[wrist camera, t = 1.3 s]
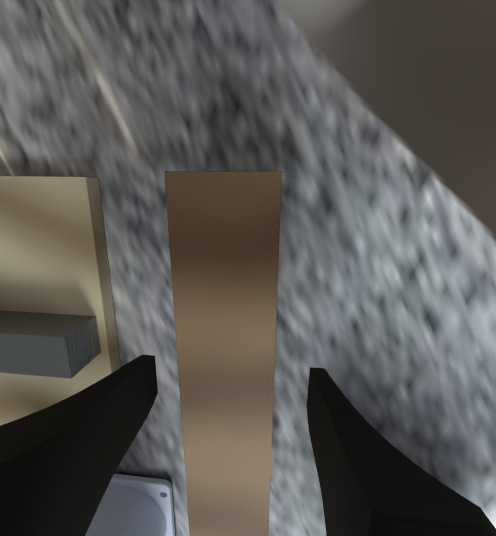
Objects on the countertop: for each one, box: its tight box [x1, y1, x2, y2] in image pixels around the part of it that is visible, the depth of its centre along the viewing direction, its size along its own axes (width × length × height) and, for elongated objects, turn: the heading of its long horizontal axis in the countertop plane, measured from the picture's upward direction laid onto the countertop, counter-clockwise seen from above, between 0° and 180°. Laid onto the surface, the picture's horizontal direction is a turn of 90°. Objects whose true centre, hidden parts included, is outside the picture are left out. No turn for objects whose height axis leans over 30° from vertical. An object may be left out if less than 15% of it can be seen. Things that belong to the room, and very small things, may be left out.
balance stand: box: [0, 176, 121, 425], centre depth 16 cm, size 18×12×4 cm, turn 179°
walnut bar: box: [165, 171, 282, 536], centre depth 14 cm, size 18×4×6 cm, turn 0°
